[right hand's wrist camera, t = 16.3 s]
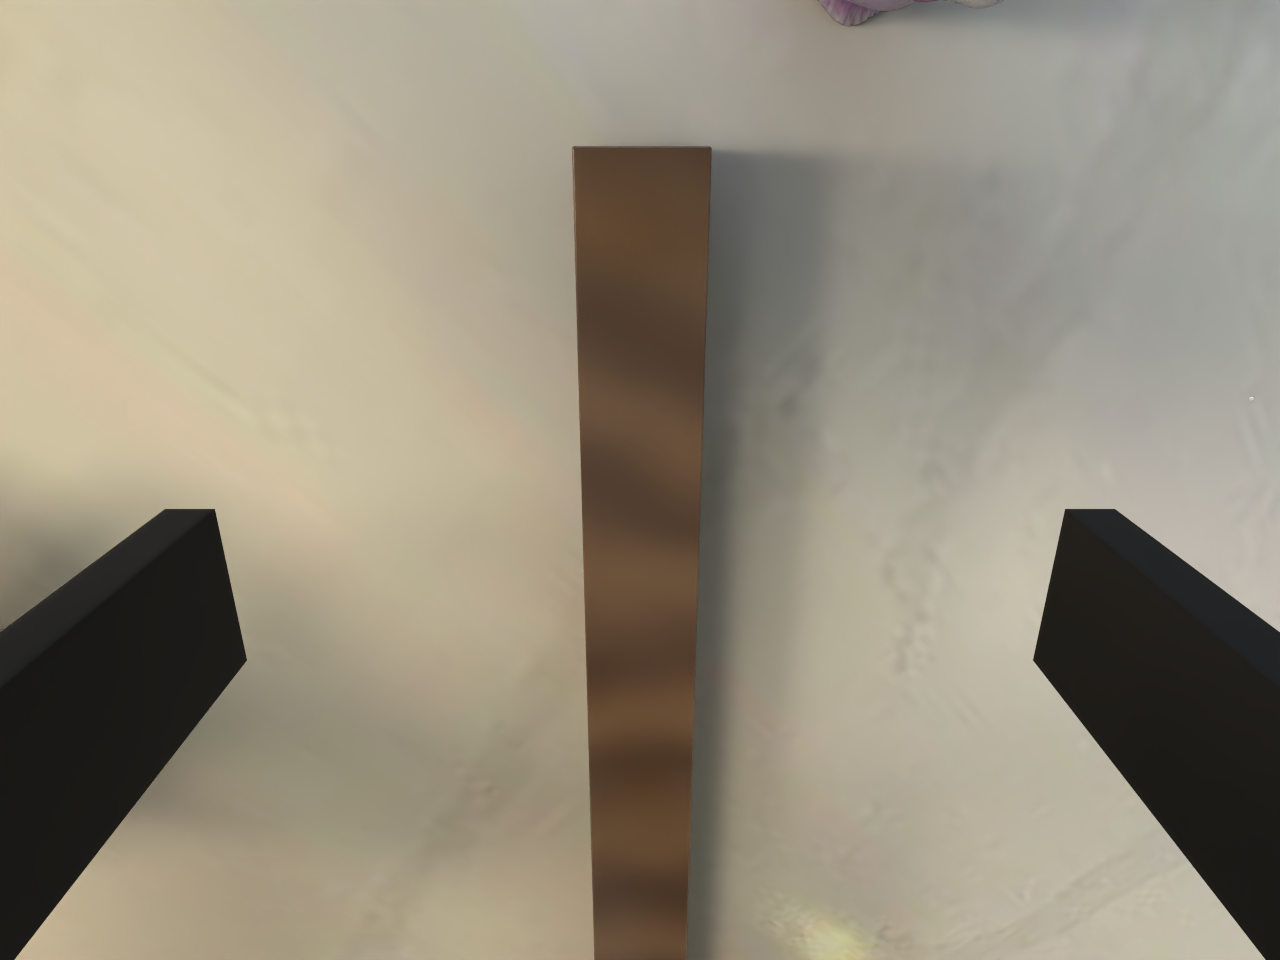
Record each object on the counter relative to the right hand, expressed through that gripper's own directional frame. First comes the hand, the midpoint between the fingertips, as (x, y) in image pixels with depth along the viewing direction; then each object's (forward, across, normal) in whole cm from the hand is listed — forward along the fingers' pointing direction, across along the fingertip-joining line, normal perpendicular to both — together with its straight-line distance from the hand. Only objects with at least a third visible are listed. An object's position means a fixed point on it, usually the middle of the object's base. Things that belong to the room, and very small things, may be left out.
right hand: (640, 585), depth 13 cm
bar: (+30, 0, -31) cm, 43 cm away
